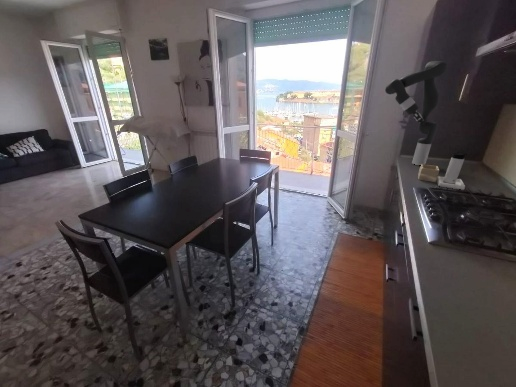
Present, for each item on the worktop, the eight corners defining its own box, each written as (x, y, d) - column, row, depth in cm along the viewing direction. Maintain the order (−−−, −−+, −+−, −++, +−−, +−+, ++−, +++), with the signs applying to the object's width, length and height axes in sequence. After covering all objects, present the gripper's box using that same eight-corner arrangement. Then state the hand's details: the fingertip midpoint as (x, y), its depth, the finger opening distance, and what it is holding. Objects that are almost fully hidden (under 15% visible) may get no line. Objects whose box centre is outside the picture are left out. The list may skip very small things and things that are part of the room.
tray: (436, 179, 158) (437, 176, 157) (459, 182, 152) (461, 179, 151) (438, 186, 147) (439, 182, 146) (463, 190, 141) (465, 186, 140)
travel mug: (455, 185, 145) (467, 154, 137) (442, 183, 149) (453, 152, 141) (455, 182, 150) (467, 152, 141) (443, 180, 154) (453, 150, 145)
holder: (417, 174, 167) (421, 164, 163) (434, 177, 162) (437, 166, 159) (418, 179, 158) (421, 168, 155) (435, 182, 154) (439, 170, 151)
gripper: (415, 102, 145) (432, 122, 144) (414, 101, 156) (430, 120, 156) (403, 111, 150) (419, 130, 149) (403, 109, 161) (418, 127, 160)
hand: (424, 125), depth 152 cm, fingers open, 8 cm apart
